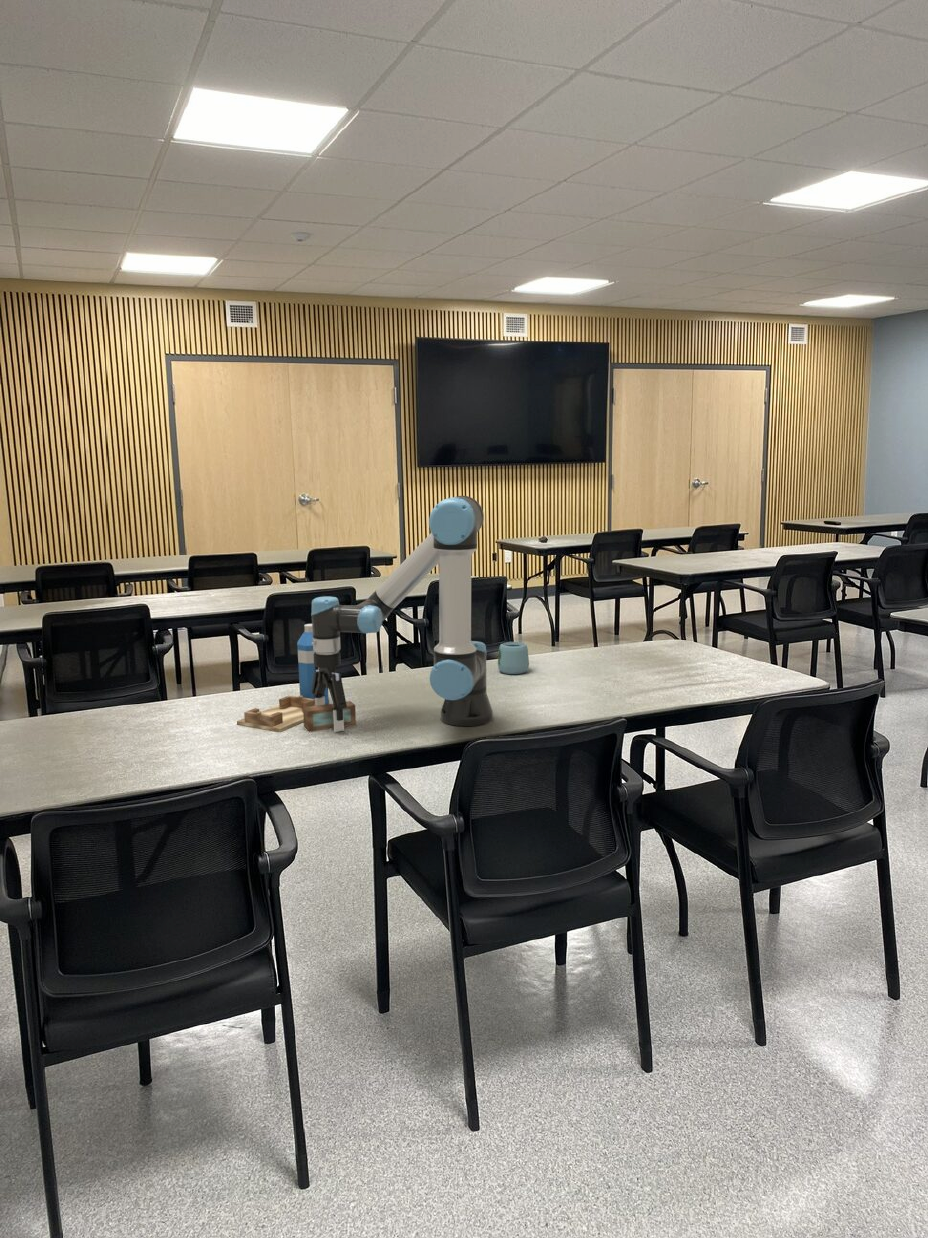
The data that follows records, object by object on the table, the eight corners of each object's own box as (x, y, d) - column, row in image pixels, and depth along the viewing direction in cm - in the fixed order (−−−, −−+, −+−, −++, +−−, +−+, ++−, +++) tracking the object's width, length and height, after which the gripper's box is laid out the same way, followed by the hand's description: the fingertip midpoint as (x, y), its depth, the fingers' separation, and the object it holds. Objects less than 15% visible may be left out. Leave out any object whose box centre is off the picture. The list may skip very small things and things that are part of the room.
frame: (350, 720, 262) (350, 701, 261) (356, 725, 258) (355, 705, 257) (303, 727, 256) (303, 707, 255) (308, 732, 252) (307, 711, 251)
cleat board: (324, 713, 269) (323, 698, 268) (280, 732, 252) (279, 716, 251) (282, 706, 276) (281, 692, 275) (236, 724, 259) (236, 709, 258)
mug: (494, 666, 324) (493, 639, 322) (524, 664, 325) (524, 637, 324) (500, 676, 310) (500, 648, 308) (531, 675, 311) (531, 646, 309)
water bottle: (323, 708, 274) (319, 628, 269) (294, 707, 275) (290, 627, 271) (333, 700, 283) (330, 622, 278) (305, 699, 284) (302, 621, 280)
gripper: (298, 645, 261) (301, 716, 265) (331, 662, 240) (334, 738, 245) (322, 642, 265) (325, 712, 269) (357, 658, 244) (359, 734, 248)
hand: (329, 725), depth 257 cm, fingers open, 12 cm apart
